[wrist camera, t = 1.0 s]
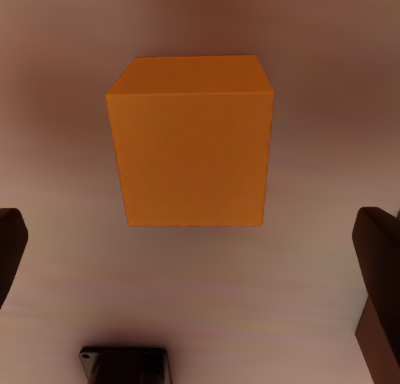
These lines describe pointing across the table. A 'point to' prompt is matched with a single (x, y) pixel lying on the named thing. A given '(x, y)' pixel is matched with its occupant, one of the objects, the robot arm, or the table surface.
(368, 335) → the walnut block
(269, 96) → the mustard block
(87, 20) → the table surface
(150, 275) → the table surface
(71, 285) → the table surface
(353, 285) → the table surface
